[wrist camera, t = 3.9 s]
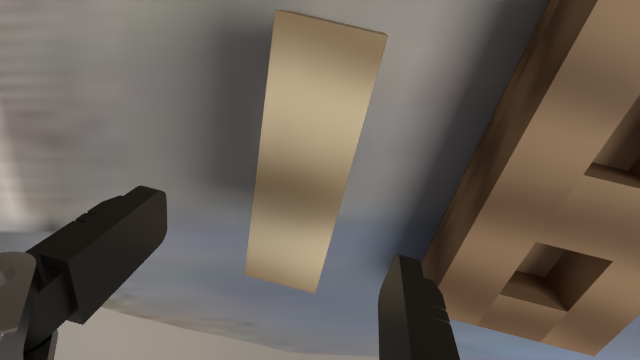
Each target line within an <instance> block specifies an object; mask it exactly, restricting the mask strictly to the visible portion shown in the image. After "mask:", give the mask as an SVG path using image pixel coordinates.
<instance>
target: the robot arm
mask: <svg viewBox="0 0 640 360" xmlns="http://www.w3.org/2000/svg"><path fill="white" fill-rule="evenodd" d="M166 232H167V204H166V194H165V192H163V191H161V190H157V189H153V188H149V187H145V186H138V187H136V188H135V189H133V190H132V191H130V192H129V193H127V194H126V195H124V196H117V197H114V198H112V199H109V200H106V201H103V202H101V203H100V204H98V205H97V206H95V207H93V208H92V209H90V210H89V211H88V213H84V214H83V215H81V216H80V217H78V218H77V219H76V221H72V222H70V223H69V224H67V225H66V226H64V227H63V228H61V229H60V230H58V231H57V232H55V233H54V234H52V235H51V236H49V237H48V238H46V239H44V240H43V241H41V242H40V243H38V244H37V245H35V246H34V247H32V248H31V249H29V250H28V251H26V252H18V251H11V252H2V253H0V360H54V355H55V349H56V344H57V338H58V331H57V328H58V327H59V326H60V325H61V324H62V323H64V322H65V320H68V321H71V322H75V323H78V324H82V325H83V324H84V323H85V322H86V321H87V320H88V319H89V318H90V317H91V316H92V315H93V314H94V312H96V311H97V310H98V309H99V308H100V307H101V306H102V305H103V303H104V302H105V301H106V300H107V299H108V298H109V297H110V296H111V295H112V294H113V293H114V292H115V291H116V290H117V289H118V288H119V287H120V286H121V285H122V284H123V283H124V282H125V281H126V280H127V279H128V278H129V277H130V276H131V274H132V273H133V272H134V271H135V270H136V269H137V268H138V267H139V266H140V265H141V264H142V263H143V262H144V261H145V260H146V259H147V258H148V257H149V256H150V255H151V254H152V253H153V252H154V251H155V250H156V249H157V248H158V247H159V245H160V244H161V243H162V241H163V240H164V238H165V235H166ZM378 321H379V360H460V358H459V354H458V350H457V347H456V343H455V339H454V335H453V332H452V328H451V325H450V324H449V323H450V320H449V317H448V313H447V312H446V305H445V302H444V298H443V294H442V293H441V291H440V290H439V288H438V287H437V285H436V284H435V283H434V281H433V280H431V279H427V278H424V275H423V271H422V266H421V262H420V260H417V259H413V258H410V257H406V256H402V255H398V254H396V255H395V257H394V259H393V261H392V263H391V266H390V268H389V270H388V272H387V275H386V277H385V279H384V282H383V284H382V287H381V290H380V294H379V300H378Z"/></svg>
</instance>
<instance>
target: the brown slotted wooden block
mask: <svg viewBox="0 0 640 360" xmlns="http://www.w3.org/2000/svg"><path fill="white" fill-rule="evenodd" d="M421 266H422V271H423V275H424V278H427V279H431V280H433V281H434V283H435V284H436V285H437V287H438V288H439V290H440V291H441V293H442V294H443V298H444V302H445V305H446V312H447V313H448V317H449V318H450V319H454V320H457V321H461V322H465V323H469V324H473V325H477V326H480V327H484V328H488V329H492V330H496V331H499V332H503V333H507V334H511V335H515V336H519V337H522V338H526V339H530V340H534V341H538V342H541V343H545V344H549V345H553V346H557V347H560V348H564V349H568V350H572V351H576V352H580V353H583V354H587V355H591V356H595V355H596V354H597V353H598V352H599V351H600V350H601V349H602V348H604V347H605V346H606V345H607V344H608V343H609V342H610V341H611V340H612V339H613V338H614V337H615V336H616V335H618V334H619V333H620V332H621V331H622V330H623V329H624V328H625V327H626V326H627V325H628V324H629V323H631V322H632V321H633V320H634V319H635V318H636V317H637V316H638V315H639V314H640V0H550V1H549V3H548V5H547V7H546V9H545V11H544V13H543V15H542V17H541V19H540V21H539V23H538V25H537V27H536V29H535V31H534V33H533V35H532V37H531V39H530V41H529V44H528V46H527V48H526V50H525V52H524V54H523V56H522V58H521V60H520V62H519V64H518V66H517V68H516V70H515V72H514V74H513V76H512V78H511V80H510V82H509V84H508V86H507V88H506V90H505V92H504V94H503V96H502V99H501V101H500V103H499V105H498V107H497V109H496V111H495V113H494V115H493V117H492V119H491V121H490V123H489V125H488V127H487V129H486V131H485V133H484V135H483V137H482V139H481V141H480V143H479V145H478V147H477V149H476V152H475V154H474V156H473V158H472V160H471V162H470V164H469V166H468V168H467V170H466V172H465V174H464V176H463V178H462V180H461V182H460V184H459V186H458V188H457V190H456V192H455V194H454V196H453V198H452V200H451V202H450V204H449V207H448V209H447V211H446V213H445V215H444V217H443V219H442V221H441V223H440V225H439V227H438V229H437V231H436V233H435V235H434V237H433V239H432V241H431V243H430V245H429V247H428V249H427V251H426V253H425V255H424V257H423V260H422V262H421Z"/></svg>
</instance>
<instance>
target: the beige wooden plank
mask: <svg viewBox="0 0 640 360" xmlns="http://www.w3.org/2000/svg"><path fill="white" fill-rule="evenodd" d="M387 38H388V35H386V34H385V33H383V32H379V31H374V30H370V29H366V28H362V27H357V26H353V25H349V24H344V23H340V22H336V21H332V20H327V19H323V18H319V17H314V16H310V15H306V14H302V13H297V12H292V11H283V10H275V16H274V25H273V34H272V42H271V51H270V60H269V68H268V77H267V86H266V94H265V103H264V112H263V121H262V129H261V138H260V147H259V155H258V164H257V173H256V181H255V190H254V199H253V207H252V216H251V225H250V233H249V242H248V251H247V259H246V268H245V275H247V276H251V277H255V278H258V279H262V280H266V281H270V282H274V283H277V284H281V285H285V286H289V287H293V288H296V289H300V290H304V291H308V292H312V293H316V289H317V286H318V282H319V278H320V275H321V271H322V268H323V264H324V261H325V257H326V254H327V250H328V247H329V243H330V239H331V236H332V232H333V229H334V225H335V222H336V218H337V215H338V211H339V208H340V204H341V201H342V197H343V193H344V190H345V186H346V183H347V179H348V176H349V172H350V169H351V165H352V162H353V158H354V154H355V151H356V147H357V144H358V140H359V137H360V133H361V130H362V126H363V123H364V119H365V115H366V112H367V108H368V105H369V101H370V98H371V94H372V91H373V87H374V84H375V80H376V77H377V73H378V69H379V66H380V62H381V59H382V55H383V52H384V48H385V45H386V41H387Z"/></svg>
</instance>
